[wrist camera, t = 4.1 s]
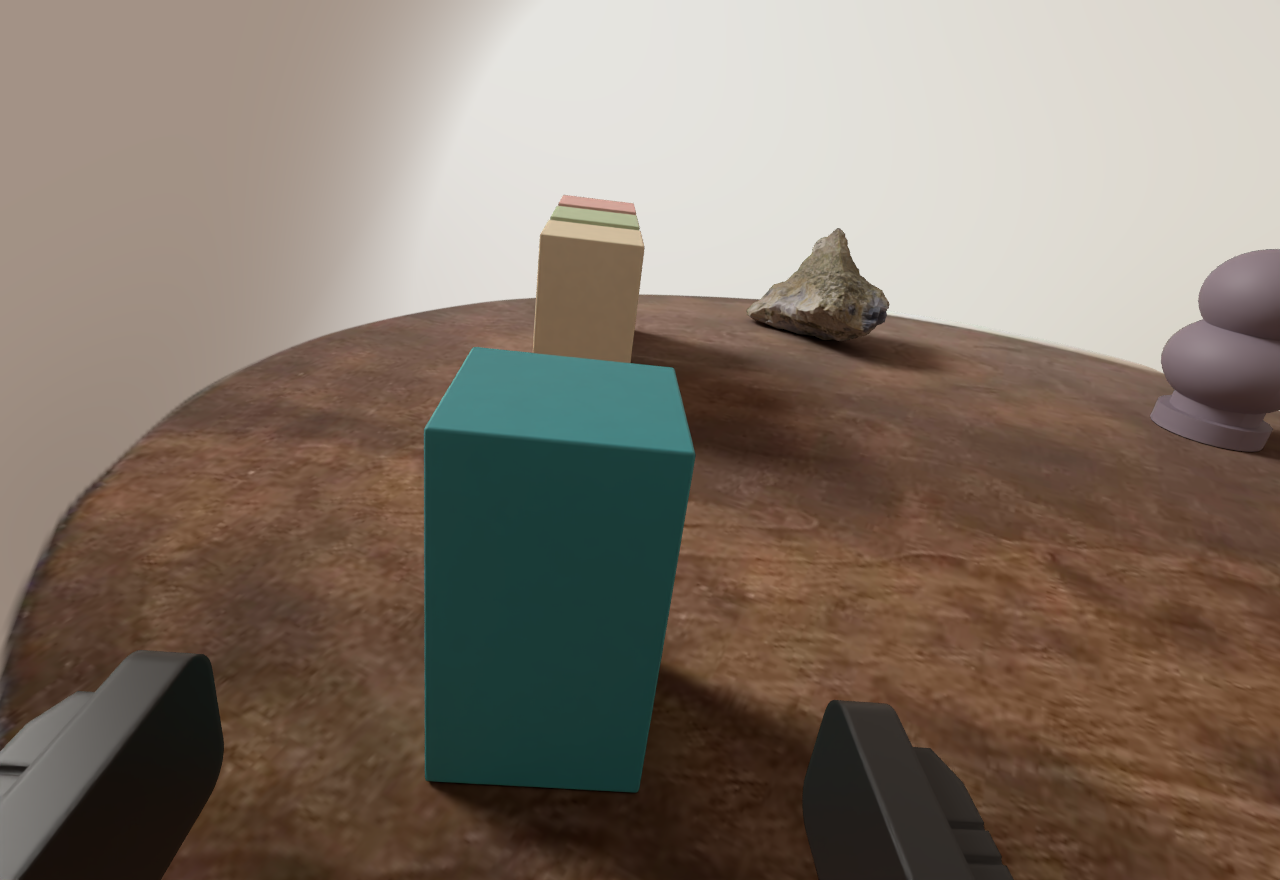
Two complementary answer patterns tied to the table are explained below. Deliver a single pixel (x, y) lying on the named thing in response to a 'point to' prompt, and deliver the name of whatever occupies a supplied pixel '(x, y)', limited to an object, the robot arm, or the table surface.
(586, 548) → the teal block
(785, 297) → the rock
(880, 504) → the table surface
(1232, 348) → the cat figurine
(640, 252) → the line block
